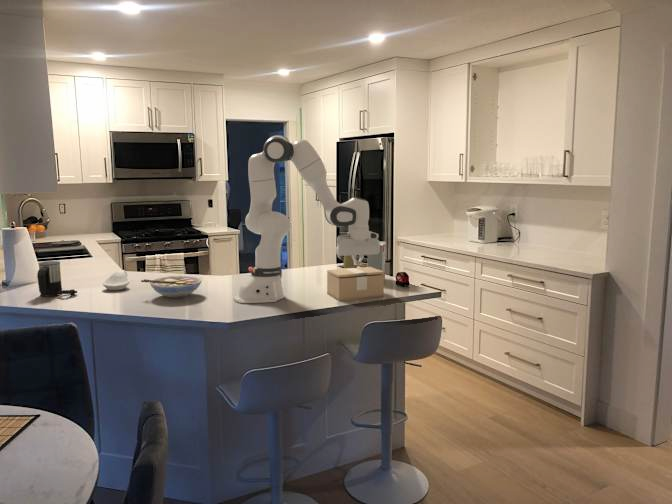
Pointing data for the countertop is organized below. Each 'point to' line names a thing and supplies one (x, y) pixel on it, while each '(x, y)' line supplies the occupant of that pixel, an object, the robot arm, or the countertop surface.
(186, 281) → the ramen bowl
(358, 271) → the lid
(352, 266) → the squeeze bottle
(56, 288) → the milk frother
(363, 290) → the cardboard box
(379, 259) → the hard drive box
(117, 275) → the spoon rest
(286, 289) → the countertop surface
